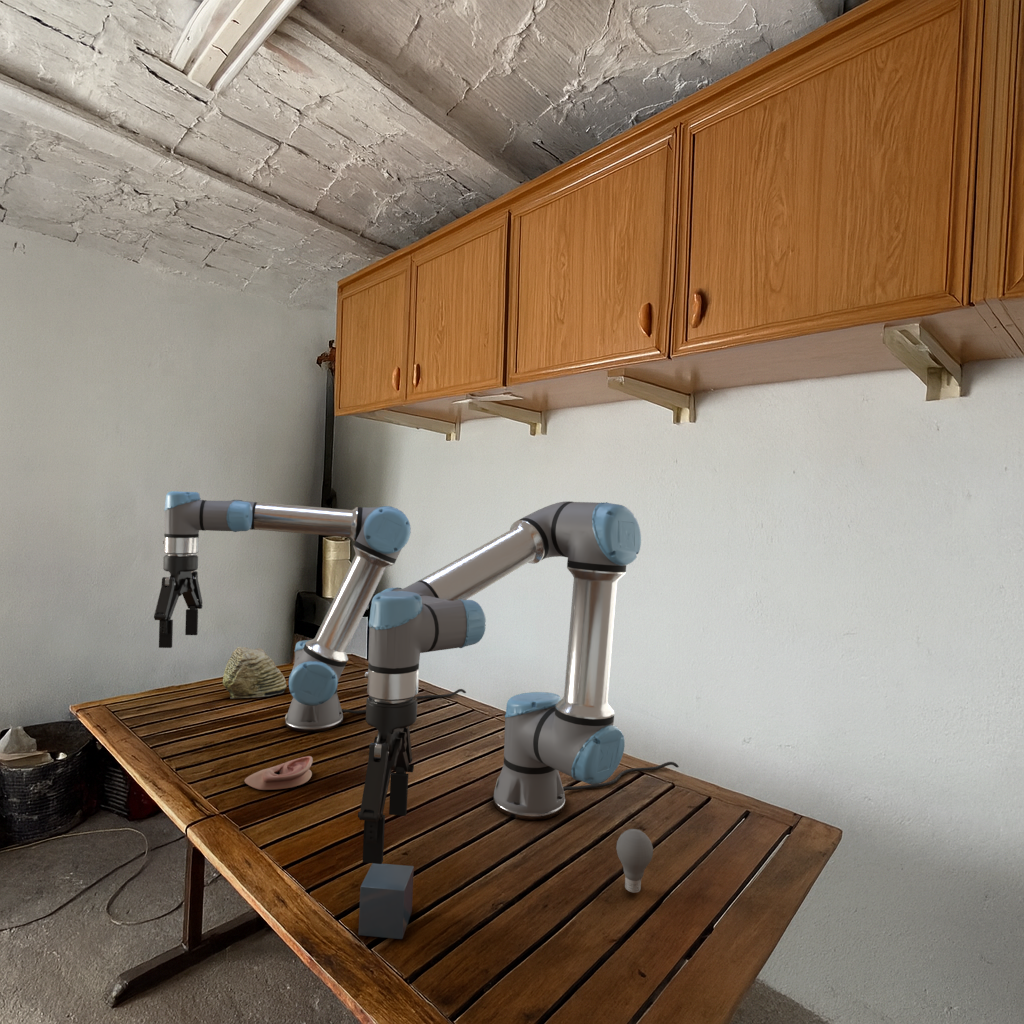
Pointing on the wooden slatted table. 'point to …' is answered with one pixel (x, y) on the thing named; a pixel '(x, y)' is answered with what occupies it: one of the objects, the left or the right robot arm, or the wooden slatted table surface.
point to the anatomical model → (282, 775)
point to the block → (386, 901)
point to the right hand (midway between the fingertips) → (386, 836)
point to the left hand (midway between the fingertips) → (179, 641)
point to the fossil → (252, 674)
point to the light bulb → (634, 857)
